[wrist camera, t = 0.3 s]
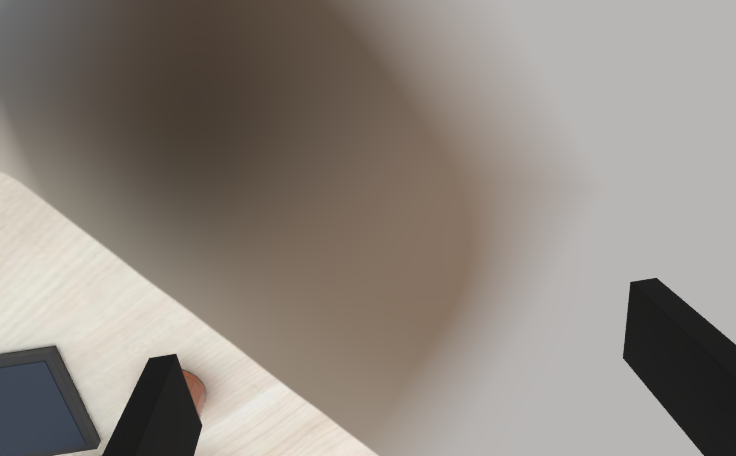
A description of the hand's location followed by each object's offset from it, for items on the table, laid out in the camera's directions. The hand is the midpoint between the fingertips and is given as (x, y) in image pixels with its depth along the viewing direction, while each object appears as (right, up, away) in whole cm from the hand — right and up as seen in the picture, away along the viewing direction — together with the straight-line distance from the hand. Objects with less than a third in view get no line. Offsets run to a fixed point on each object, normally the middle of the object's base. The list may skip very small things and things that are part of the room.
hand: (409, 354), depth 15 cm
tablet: (-35, -12, +30) cm, 48 cm away
